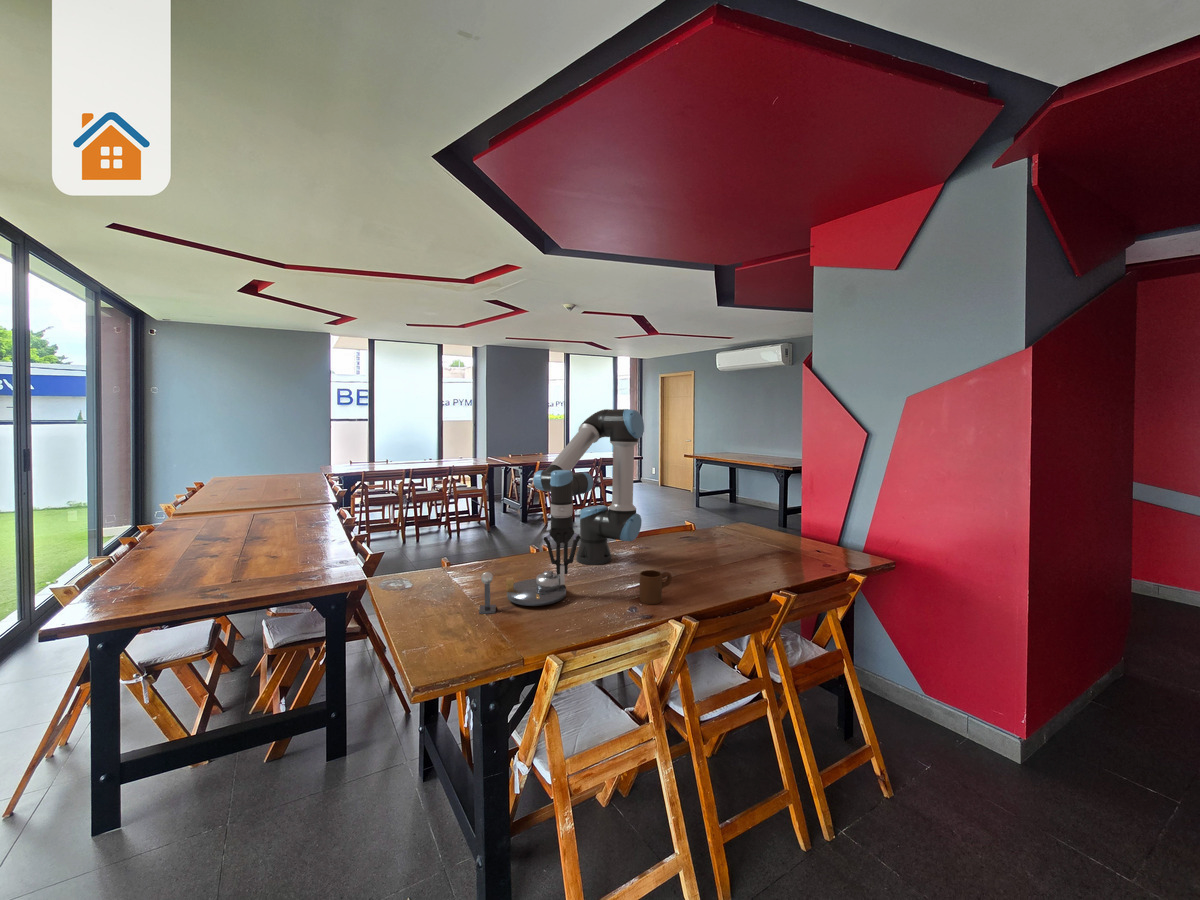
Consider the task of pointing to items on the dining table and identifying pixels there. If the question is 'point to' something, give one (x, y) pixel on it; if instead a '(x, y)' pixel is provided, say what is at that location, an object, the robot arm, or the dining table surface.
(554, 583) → the cover
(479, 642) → the dining table surface
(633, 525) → the robot arm
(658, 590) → the mug
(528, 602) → the turntable
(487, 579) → the globe lamp
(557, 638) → the dining table surface
